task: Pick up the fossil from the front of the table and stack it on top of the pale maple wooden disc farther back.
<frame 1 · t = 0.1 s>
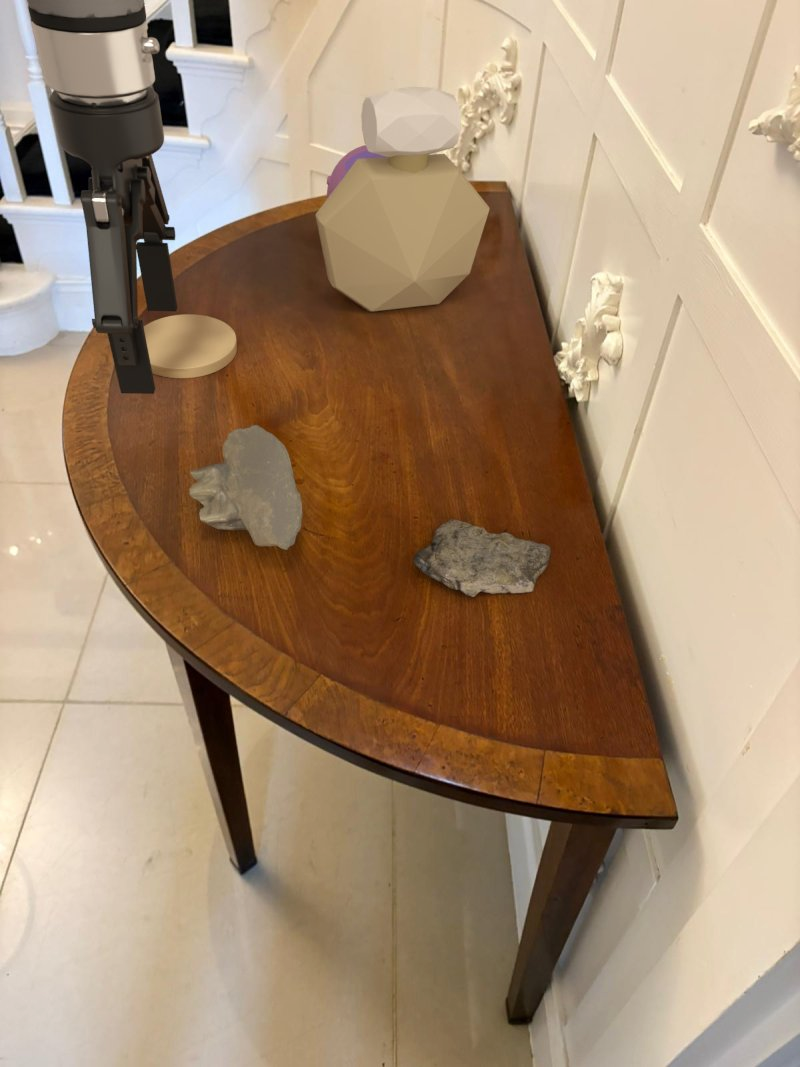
hand: (151, 347, 71), 17 cm above the table, tool pointing down, fingers open, 13 cm apart
decorative ball: (373, 246, 127), on the table
stone: (479, 566, 78), on the table
fossil: (250, 524, 81), on the table
maple disc: (186, 350, 102), on the table
perfume bottle: (398, 299, 115), on the table
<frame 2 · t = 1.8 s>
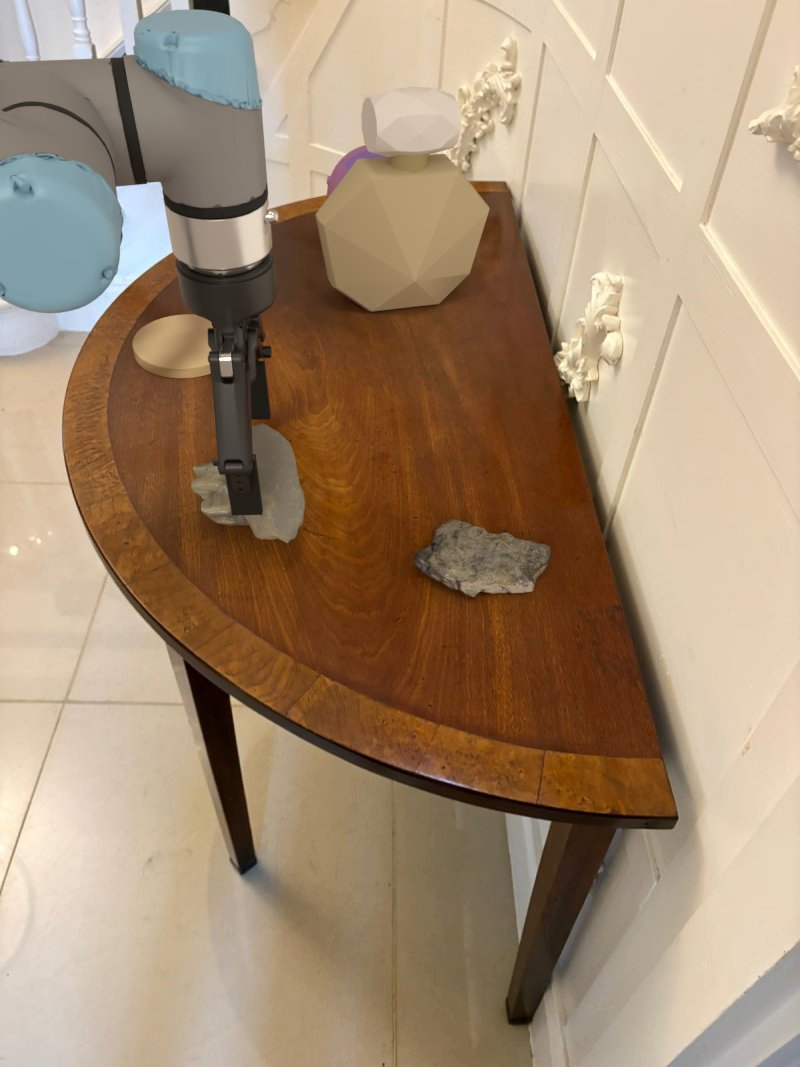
hand: (252, 462, 76), 7 cm above the table, tool pointing down, fingers open, 13 cm apart
fossil: (249, 521, 80), on the table, touching gripper
everything else where it was.
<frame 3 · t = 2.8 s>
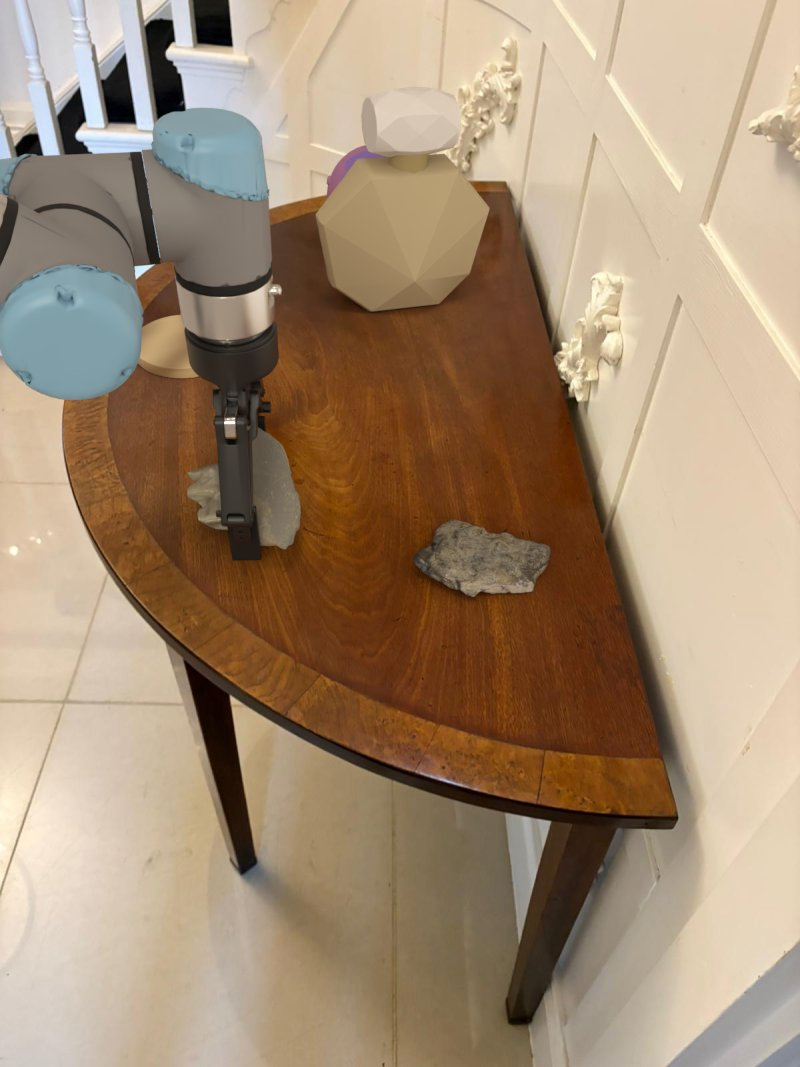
hand: (251, 509, 80), 1 cm above the table, tool pointing down, fingers closed on fossil, 12 cm apart
fossil: (248, 524, 81), on the table, touching gripper
everything else where it was.
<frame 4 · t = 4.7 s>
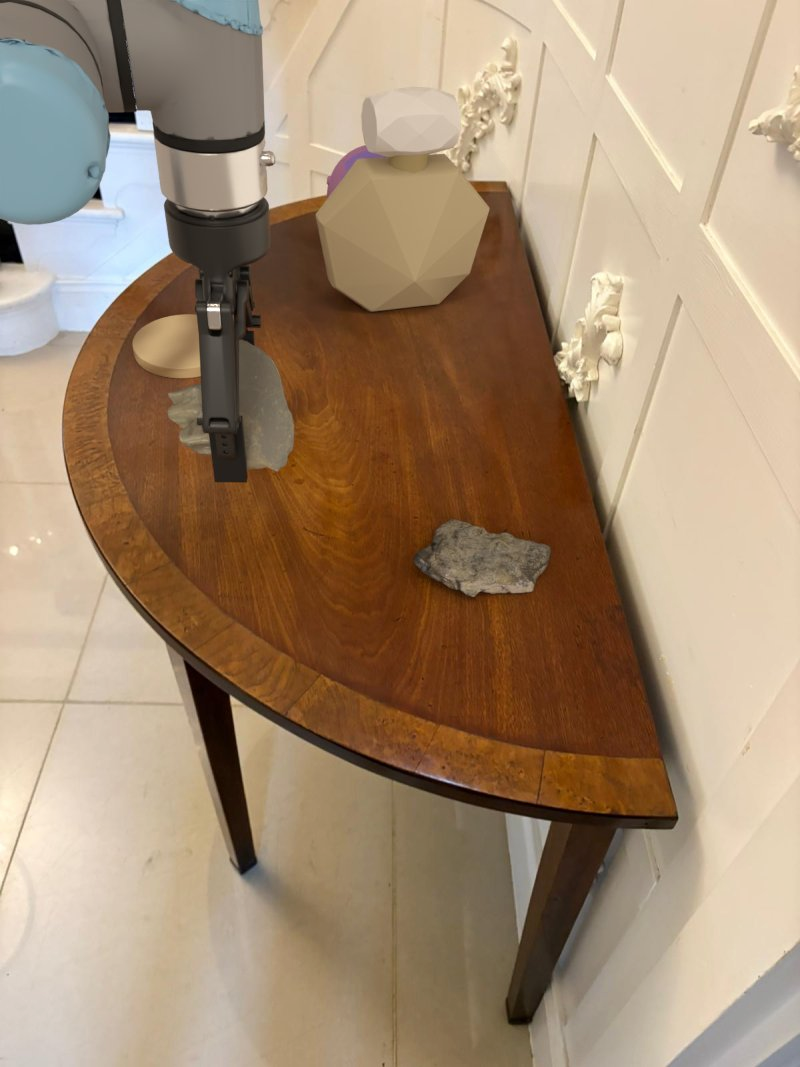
hand: (237, 433, 72), 12 cm above the table, tool pointing down, fingers closed on fossil, 12 cm apart
fossil: (235, 450, 73), point 10 cm above the table, touching gripper
everything else where it was.
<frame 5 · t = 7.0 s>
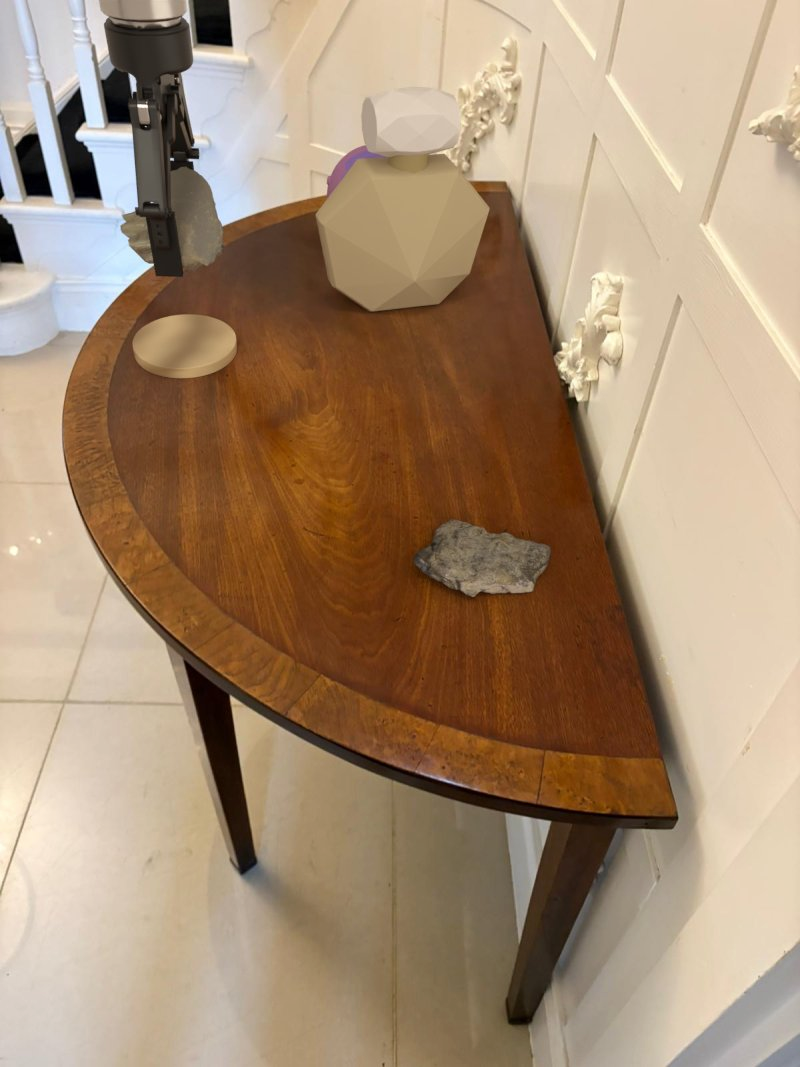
hand: (179, 246, 86), 17 cm above the table, tool pointing down, fingers closed on fossil, 12 cm apart
fossil: (178, 263, 87), point 15 cm above the table, touching gripper
everything else where it was.
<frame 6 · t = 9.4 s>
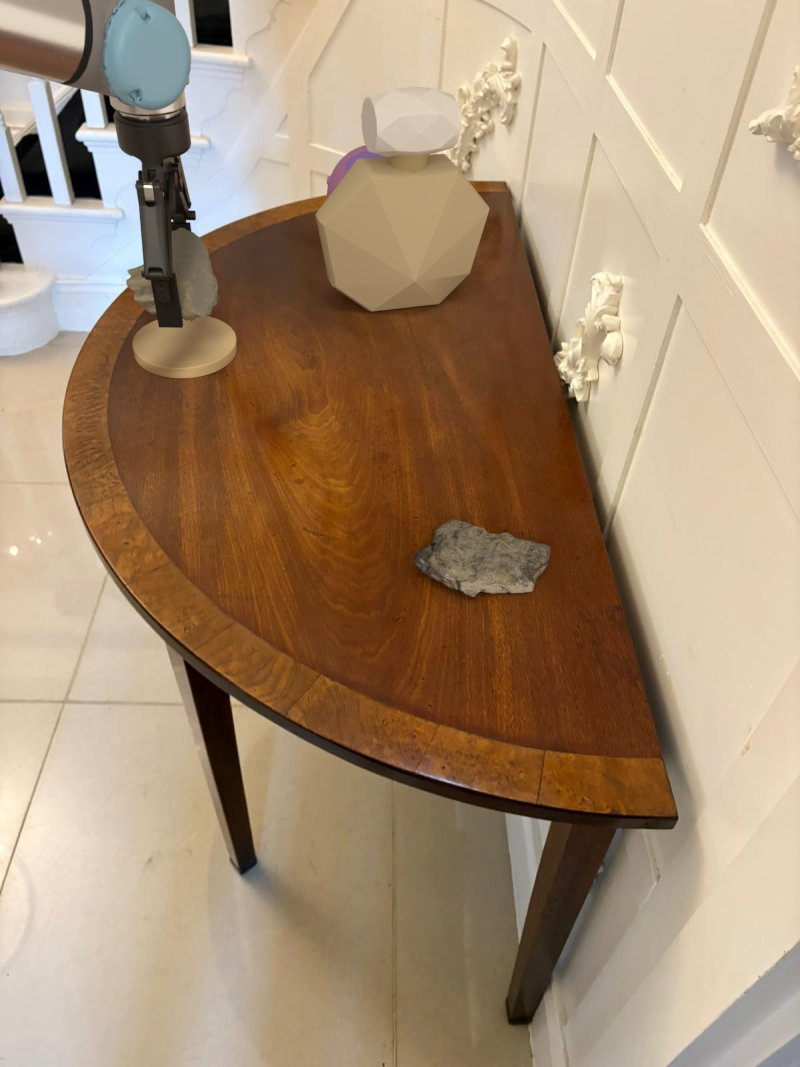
hand: (178, 298, 97), 7 cm above the table, tool pointing down, fingers closed on fossil, 12 cm apart
fossil: (178, 312, 98), point 6 cm above the table, touching gripper
everything else where it was.
when the fingers open (3 cm above the table, at t = 11.2 s): fossil stays where it is, resting on maple disc.
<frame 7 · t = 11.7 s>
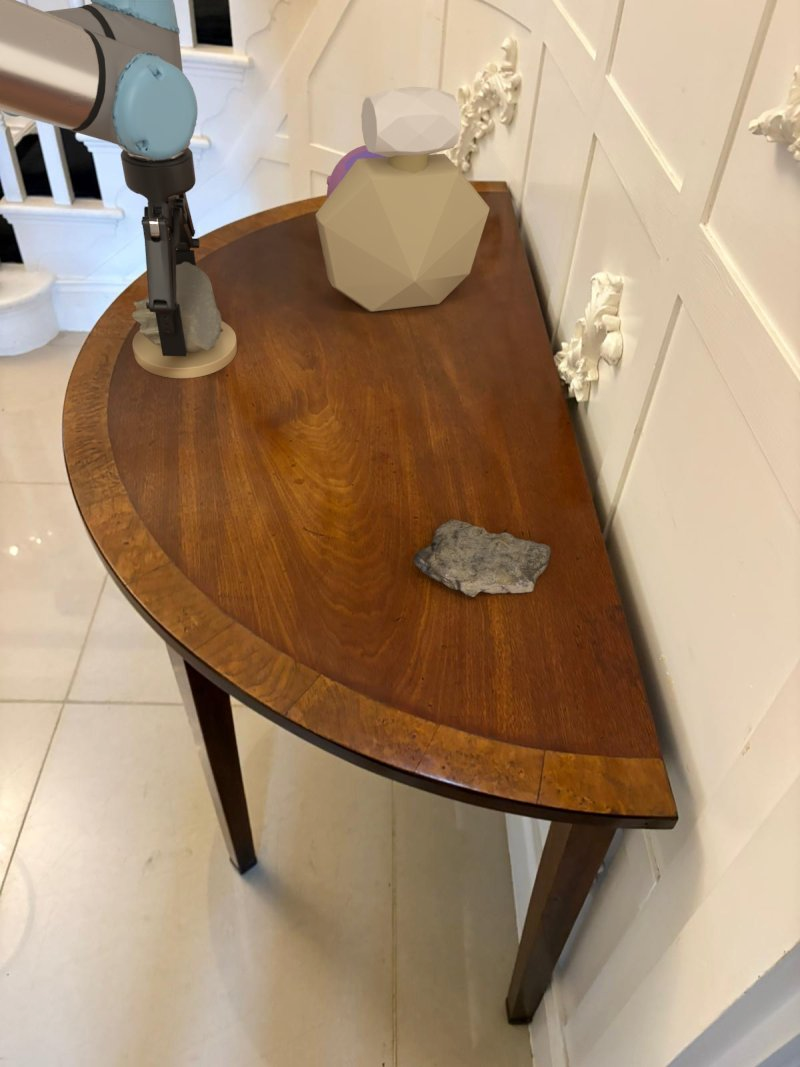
hand: (182, 325, 99), 4 cm above the table, tool pointing down, fingers open, 13 cm apart
fossil: (182, 343, 101), point 1 cm above the table, touching maple disc
maple disc: (186, 350, 102), on the table, touching fossil
everything else where it was.
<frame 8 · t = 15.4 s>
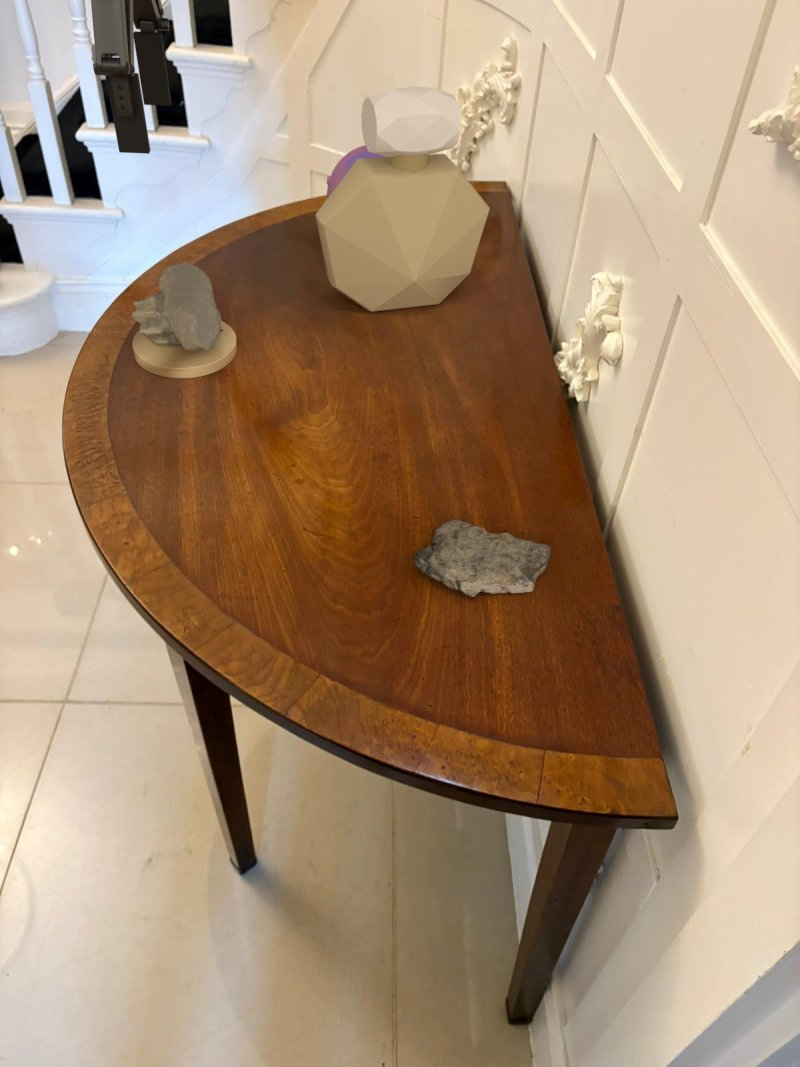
hand: (147, 126, 78), 29 cm above the table, tool pointing down, fingers open, 13 cm apart
nothing on the table moved.
at the end: fossil inside the target area on the maple disc (0.6 cm from its centre), point 1.3 cm above the maple disc's base; fossil touching maple disc; the gripper is holding nothing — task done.
